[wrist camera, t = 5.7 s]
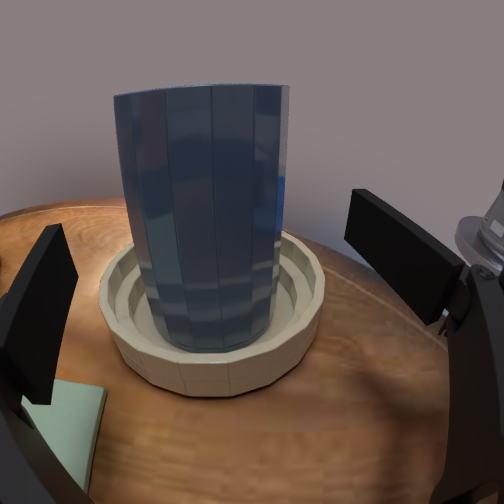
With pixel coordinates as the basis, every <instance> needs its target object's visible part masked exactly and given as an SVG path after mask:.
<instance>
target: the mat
mask: <svg viewBox="0 0 504 504" xmlns="http://www.w3.org/2000/svg"><path fill="white" fill-rule="evenodd" d="M106 394H107V390H106V389H105V388H104V387H99V386H92V385H86V384H80V383H74V382H69V381H63V380H58V379H54V386H53V393H52V401H51V405H32V404H31V403H30V402H29V401H28V399H27V398H26V397H25V396H24V395H23V397H22V403H21V404H22V405H23V406H24V407H25V408H26V410H27V411H28V413H29V415H30V417H31V418H32V420H33V422H34V423H35V425H36V427H37V428H38V430H39V431H40V433H41V435H42V436H43V438H44V439H45V441H46V442H47V444H48V445H49V447H50V448H51V450H52V451H53V453H54V454H55V455H56V457H57V458H58V460H59V461H60V462H61V464H62V465H63V466H64V468H65V469H66V470H67V471H68V473H69V474H70V475H71V477H72V478H73V479H74V480H75V481H76V483H77V484H78V485H79V486H80V487H81V489H82V490H83V491H84V492H85V493H86V494H87V493H88V485H89V478H90V472H91V465H92V460H93V454H94V449H95V443H96V438H97V433H98V428H99V424H100V419H101V415H102V410H103V406H104V402H105V398H106Z"/></svg>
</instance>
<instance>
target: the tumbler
mask: <svg viewBox="0 0 504 504" xmlns="http://www.w3.org/2000/svg"><path fill="white" fill-rule="evenodd" d="M289 89H290V88H289V86H288V85H273V84H207V85H190V86H178V87H168V88H159V89H151V90H144V91H137V92H130V93H125V94H119V95H115V96H114V97H113V98H114V113H115V124H116V134H117V145H118V153H119V161H120V169H121V176H122V182H123V189H124V195H125V201H126V207H127V212H128V218H129V223H130V228H131V233H132V238H133V243H134V247H135V252H136V256H137V261H138V265H139V269H140V273H141V277H142V281H143V285H144V289H145V293H146V296H147V300H148V304H149V307H150V311H151V314H152V318H153V321H154V324H155V326H156V329H157V330H158V332H159V333H160V334H161V336H162V337H163V338H164V339H165V340H167V341H168V342H169V343H170V344H172V345H174V346H176V347H177V348H180V349H182V350H185V351H188V352H192V353H228V352H232V351H236V350H239V349H241V348H244V347H246V346H248V345H250V344H251V343H253V342H254V341H256V340H257V339H258V338H260V337H261V336H262V335H263V334H264V333H265V331H266V330H267V329H268V327H269V326H270V324H271V322H272V319H273V316H274V310H275V307H276V297H277V285H278V273H279V261H280V248H281V235H282V220H283V206H284V190H285V174H286V155H287V136H288V115H289V114H288V113H289Z"/></svg>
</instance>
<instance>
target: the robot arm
mask: <svg viewBox="0 0 504 504" xmlns="http://www.w3.org/2000/svg"><path fill="white" fill-rule="evenodd" d="M478 234H479V237H480V239H481V240H482V242H483V243H484V244H485V245H486V246H487V247H488V248H489V249H490V250H491V251H492V252H493V253H494V254H495V255H496V256H498V257H499V258H500V259H502V260H503V261H504V180H503V184H502V188H501V191H500V193H499V195H498V197H497V198H496V200H495V201H494V203H493V204H492V206H491V207H490V209H489V210H488V212H487V213H486V215H485V216H484V217H483V219H482V220H481V223H480V226H479V229H478ZM344 240H346V241H347V242H348V243H349V244H350V245H351V246H352V247H353V248H354V249H355V250H356V251H357V252H358V253H359V254H360V255H361V256H362V257H363V258H364V259H365V260H366V261H367V262H368V263H369V264H370V265H371V267H372V268H373V269H374V270H375V271H376V272H377V273H378V274H379V275H380V276H381V277H382V278H383V279H384V280H385V281H386V282H387V283H388V284H389V285H390V286H391V287H392V288H393V290H394V291H395V292H396V293H397V294H398V295H399V296H400V297H401V298H402V299H403V300H404V301H405V303H406V304H407V305H408V306H409V307H410V308H411V309H412V310H413V311H414V312H415V314H416V315H417V316H418V317H419V318H420V319H421V320H422V322H423V323H424V324H425V325H426V326H427V325H430V324H432V323H434V322H436V321H438V320H439V318H440V316H441V315H442V313H443V311H444V309H446V310H447V311H448V312H449V314H448V315H447V317H446V319H445V321H444V323H443V325H442V326H441V328H440V330H439V333H438V335H441V334H442V332H443V330H445V329H447V331H446V332H445V334H444V336H445V337H447V339H448V353H449V374H450V409H449V430H448V443H447V453H446V461H445V469H444V473H443V476H442V478H441V480H440V481H439V483H438V484H437V485H436V487H435V489H434V491H433V493H432V495H431V499H430V503H429V504H476V503H477V502H478V501H479V500H481V499H483V498H486V497H488V496H490V495H492V494H494V493H496V492H498V491H499V494H498V502H497V504H504V267H503V269H502V271H501V273H500V275H499V276H495V274H494V273H493V272H492V271H491V270H489V269H488V268H486V267H484V266H482V265H478V264H475V265H472V266H471V268H470V267H469V266H468V265H466V264H465V262H464V261H463V260H462V259H461V258H459V257H458V256H457V255H456V254H455V253H453V252H452V251H451V250H450V249H448V248H447V247H446V246H445V245H444V244H442V243H441V242H440V241H438V240H437V239H436V238H434V237H433V236H432V235H430V234H429V233H428V232H427V231H425V230H424V229H423V228H421V227H420V226H418V225H417V224H416V223H414V222H413V221H412V220H410V219H409V218H407V217H406V216H405V215H403V214H402V213H400V212H399V211H397V210H396V209H395V208H393V207H392V206H390V205H389V204H387V203H386V202H384V201H383V200H381V199H380V198H378V197H377V196H375V195H374V194H372V193H371V192H369V191H368V190H366V189H353V190H352V196H351V202H350V208H349V214H348V219H347V225H346V231H345V236H344ZM78 278H79V276H78V274H77V271H76V268H75V265H74V262H73V259H72V257H71V254H70V251H69V247H68V244H67V241H66V238H65V235H64V231H63V228H62V224H61V223H59V224H54V225H49V226H46V227H45V229H44V230H43V232H42V233H41V235H40V237H39V238H38V240H37V241H36V243H35V244H34V246H33V248H32V249H31V251H30V253H29V254H28V256H27V258H26V260H25V261H24V263H23V265H22V267H21V268H20V270H19V272H18V274H17V276H16V277H15V279H14V281H13V283H12V285H11V287H10V289H9V291H8V293H5V294H4V295H3V296H2V298H1V299H0V504H95V503H94V502H93V501H92V500H91V499H90V498H89V497H88V496H87V494H86V493H85V492H84V491H83V490H82V489H81V487H80V486H79V485H78V484H77V483H76V481H75V480H74V479H73V478H72V477H71V475H70V474H69V473H68V471H67V470H66V469H65V468H64V466H63V465H62V464H61V462H60V461H59V460H58V458H57V457H56V455H55V454H54V453H53V451H52V450H51V448H50V447H49V445H48V444H47V442H46V441H45V439H44V438H43V436H42V435H41V433H40V431H39V430H38V428H37V427H36V425H35V423H34V422H33V420H32V418H31V417H30V415H29V413H28V411H27V410H26V408H25V407H24V406H23V405H22V404H21V403H22V397H23V395H24V396H25V397H26V398H27V399H28V401H29V402H30V403H31V404H32V405H51V401H52V393H53V386H54V379H55V373H56V367H57V362H58V356H59V351H60V347H61V342H62V337H63V333H64V329H65V324H66V320H67V316H68V313H69V309H70V305H71V301H72V298H73V294H74V291H75V288H76V284H77V281H78Z"/></svg>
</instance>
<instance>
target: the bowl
mask: <svg viewBox="0 0 504 504" xmlns="http://www.w3.org/2000/svg"><path fill="white" fill-rule="evenodd" d="M324 289H325V275H324V273H323V270H322V268H321V266H320V264H319V261H318V259H317V257H316V256H315V255H314V254H313V253H312V252H311V251H310V250H309V249H308V248H307V247H306V246H305V245H304V244H303V243H302V242H301V241H300V240H298V239H296V238H294V237H292V236H291V235H289V234H287V233H285V232H283V231H282V235H281V248H280V261H279V273H278V285H277V297H276V307H275V310H274V316H273V319H272V322H271V324H270V326H269V327H268V329H267V330H266V331H265V333H264V334H263V335H262V336H261V337H260V338H258V339H257V340H256V341H254V342H253V343H251V344H250V345H248V346H246V347H244V348H241V349H239V350H236V351H232V352H228V353H192V352H188V351H185V350H182V349H180V348H177V347H176V346H174V345H172V344H170V343H169V342H168V341H167V340H165V339H164V338H163V337H162V336H161V334H160V333H159V332H158V330H157V329H156V326H155V324H154V321H153V318H152V314H151V311H150V307H149V304H148V300H147V296H146V293H145V289H144V285H143V281H142V277H141V273H140V269H139V265H138V261H137V256H136V252H135V247H134V243H133V242H132V243H130V244H128V245H127V246H126V247H125V248H124V249H123V250H122V251H121V252H120V253H119V254H118V255H117V256H116V257H115V258H114V259H113V260H112V261H111V262H110V263H109V265H108V267H107V269H106V271H105V273H104V274H103V276H102V278H101V280H100V290H99V307H100V309H101V312H102V314H103V316H104V319H105V321H106V324H107V326H108V328H109V330H110V333H111V335H112V337H113V339H114V341H115V343H116V345H117V347H118V349H119V351H120V353H121V355H122V357H123V359H124V361H125V362H126V363H127V365H129V366H130V367H131V368H132V369H133V370H135V371H136V372H137V373H138V374H140V375H141V376H142V377H143V378H145V379H146V380H147V381H148V382H150V383H151V384H154V385H156V386H159V387H162V388H165V389H168V390H171V391H174V392H177V393H180V394H183V395H186V396H188V395H189V396H205V397H219V396H234V395H237V394H241V393H244V392H247V391H250V390H253V389H257V388H260V387H263V386H266V385H269V384H271V383H272V382H274V381H275V380H276V379H278V378H279V377H281V376H282V375H283V374H285V373H286V372H287V371H289V370H290V369H291V368H293V367H294V366H295V365H297V364H298V363H299V361H300V360H301V359H302V357H303V356H304V354H305V352H306V351H307V349H308V348H309V346H310V344H311V343H312V341H313V340H314V338H315V335H316V331H317V326H318V322H319V318H320V314H321V309H322V305H323V301H324Z"/></svg>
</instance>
